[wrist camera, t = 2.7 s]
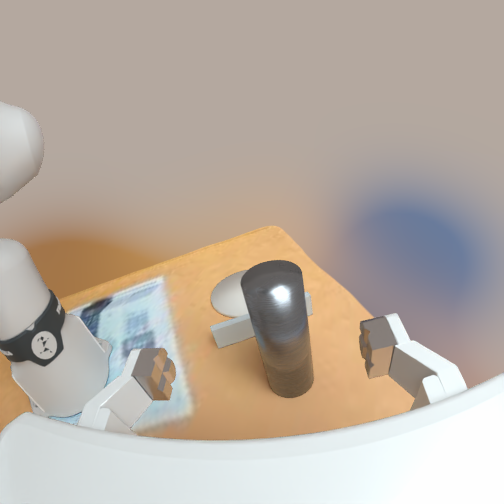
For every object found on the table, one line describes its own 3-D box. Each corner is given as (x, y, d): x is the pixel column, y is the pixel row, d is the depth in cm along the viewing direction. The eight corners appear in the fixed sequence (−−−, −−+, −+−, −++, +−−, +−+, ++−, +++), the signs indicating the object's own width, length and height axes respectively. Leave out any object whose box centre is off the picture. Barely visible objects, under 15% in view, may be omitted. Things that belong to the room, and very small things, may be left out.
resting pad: (198, 308, 47) (196, 305, 47) (236, 268, 55) (235, 265, 55) (261, 325, 41) (260, 322, 40) (295, 277, 49) (294, 274, 49)
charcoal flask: (261, 390, 31) (228, 290, 24) (281, 358, 35) (259, 257, 28) (302, 403, 29) (285, 302, 21) (320, 368, 32) (311, 263, 25)
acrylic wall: (218, 348, 38) (211, 331, 37) (217, 343, 39) (210, 326, 38) (312, 314, 41) (310, 295, 39) (309, 310, 41) (307, 291, 40)
